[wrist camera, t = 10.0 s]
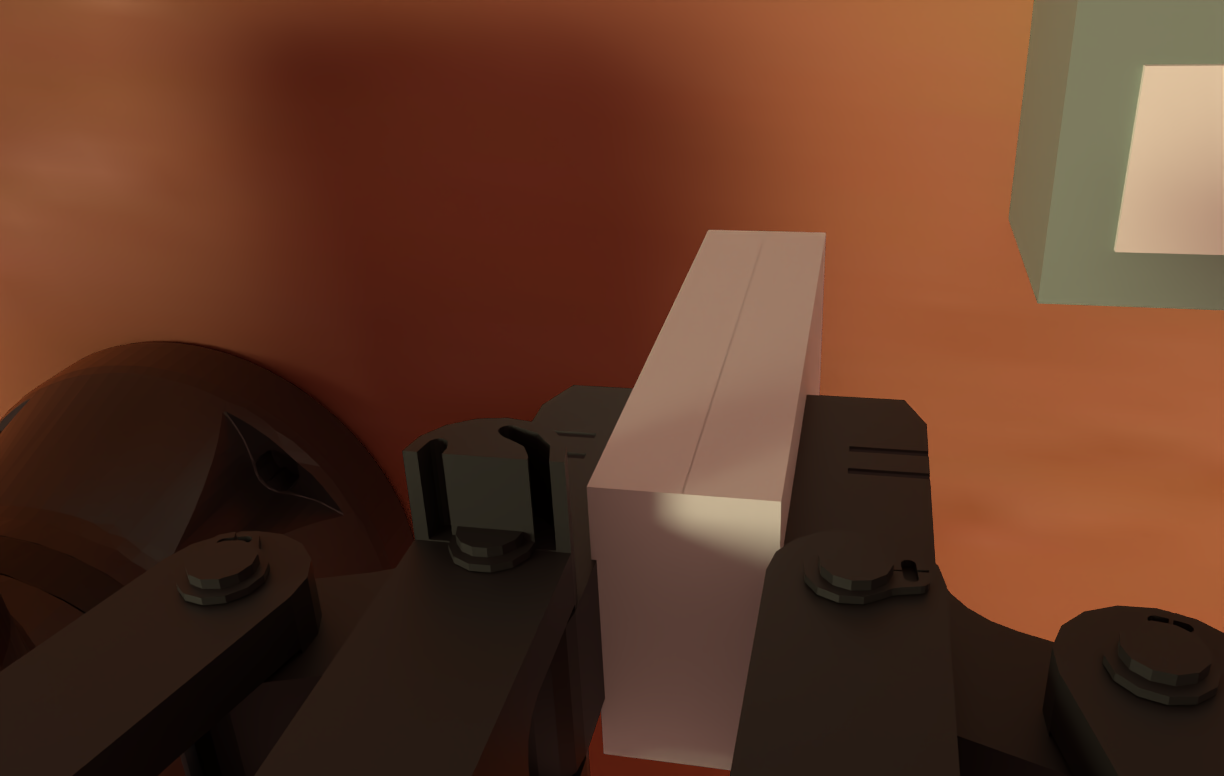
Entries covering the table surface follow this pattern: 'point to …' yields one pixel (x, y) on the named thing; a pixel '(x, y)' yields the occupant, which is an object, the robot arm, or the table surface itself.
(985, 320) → the table surface
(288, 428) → the robot arm
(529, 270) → the table surface
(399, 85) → the table surface
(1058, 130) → the panel
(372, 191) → the table surface
